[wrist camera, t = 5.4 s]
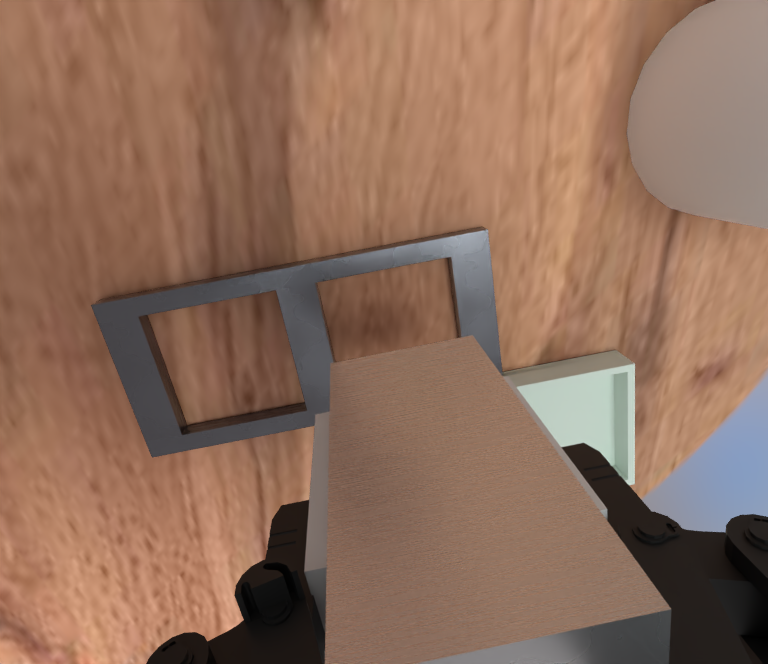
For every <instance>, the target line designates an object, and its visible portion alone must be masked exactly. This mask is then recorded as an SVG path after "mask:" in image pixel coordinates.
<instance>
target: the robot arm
mask: <svg viewBox="0 0 768 664" xmlns="http://www.w3.org/2000/svg"><path fill="white" fill-rule="evenodd" d="M503 378H504V379H505V381H506V382H507V383H508V385H509V386H510V387H511V389H512V390H513V392H514V393H515V394H516V396H517V397H518V398H519V400H520V401H521V403H522V404H523V405H524V407H525V408H526V409H527V411H528V412H529V414H530V415H531V416H532V418H533V419H534V421H535V422H536V423H537V425H538V426H539V427H540V429H541V430H542V432H543V433H544V434H545V436H546V437H547V438H548V440H549V441H550V443H551V444H552V445H553V447H554V448H555V449H556V451H557V452H558V454H559V455H560V456H561V458H562V459H563V460H564V462H565V463H566V465H567V466H568V467H569V469H570V470H571V472H572V473H573V474H574V476H575V477H576V478H577V480H578V481H579V483H580V484H581V485H582V487H583V488H584V489H585V491H586V492H587V494H588V495H589V496H590V498H591V499H592V500H593V502H594V503H595V505H596V506H597V507H598V509H599V510H600V511H601V513H602V514H603V516H604V517H605V518H606V520H607V521H608V522H609V524H610V525H611V527H612V528H613V529H614V531H615V532H616V534H617V535H618V536H619V538H620V539H621V540H622V542H623V543H624V545H625V546H626V547H627V549H628V550H629V551H630V553H631V554H632V556H633V557H634V558H635V560H636V561H637V562H638V564H639V565H640V567H641V568H642V569H643V571H644V572H645V573H646V575H647V576H648V578H649V579H650V580H651V582H652V583H653V584H654V586H655V587H656V589H657V590H658V591H659V593H660V594H661V596H662V597H663V598H664V600H665V601H666V602H667V604H668V605H669V607H670V608H671V628H670V649H669V664H768V517H766V516H760V515H754V514H751V515H740V516H737V517H734V518H732V519H731V520H730V521H729V522H728V524H727V525H726V533H724V532H702V531H691V530H685V529H682V528H681V527H680V526H679V524H678V523H677V522H675V521H674V520H672V519H670V518H669V517H667V516H665V515H662V514H659V513H656V512H651V511H650V509H649V508H648V507H647V506H646V505H645V504H644V502H643V501H642V500H641V499H640V498H639V497H638V495H637V494H636V493H635V492H634V491H633V490H632V488H631V487H630V486H629V485H628V484H627V483H626V481H625V480H624V479H623V478H622V477H621V476H619V473H618V472H617V471H616V470H615V469H614V468H613V466H611V465H610V463H609V462H608V461H607V459H606V458H605V457H604V456H603V455H602V454H601V452H600V451H598V450H596V449H594V448H592V447H591V446H589V445H587V444H585V443H580V444H575V445H570V446H565V447H561V446H560V445H559V444H558V442H557V441H556V440H555V438H554V437H553V436H552V434H551V433H550V432H549V430H548V429H547V428H546V426H545V425H544V424H543V422H542V421H541V419H540V418H539V417H538V415H537V414H536V413H535V411H534V410H533V409H532V407H531V406H530V405H529V403H528V402H527V401H526V399H525V398H524V397H523V395H522V394H521V393H520V391H519V390H518V389H517V387H516V386H515V385H514V383H513V382H512V381H511V379H510V378H509V377H508V376H505V377H503ZM329 415H330V412H325V413H320V414H315V428H314V442H313V456H312V470H311V484H310V498H309V500H306V501H301V502H296V503H292V504H287V505H282V506H281V507H280V509H279V510H278V512H277V513H276V515H275V516H274V518H273V519H272V523H271V529H270V538H269V541H268V550H267V553H266V559H265V560H263V561H261V562H259V563H257V564H255V565H253V566H252V567H250V568H249V569H248V570H247V571H246V572H245V573H244V574H243V575H242V576H241V578H240V580H239V581H238V583H237V585H236V590H235V598H236V600H237V603H238V606H239V608H240V611H241V614H242V616H243V619H244V620H243V621H242V622H241V623H240V624H239V625H237V626H236V627H234V628H233V629H231V630H229V631H227V632H225V633H223V634H221V635H219V636H217V637H216V638H214V639H212V640H210V641H208V642H207V640H206V639H205V637H204V636H202V635H200V634H198V633H196V632H192V633H183V634H180V635H177V636H175V637H172V638H171V639H169V640H168V641H166V642H165V643H164V644H162V645H161V646H159V648H158V649H157V650H156V651H155V652H154V653H153V654H152V655H151V656H150V658H149V659H148V661H147V663H146V664H325V629H326V575H327V522H328V468H329Z"/></svg>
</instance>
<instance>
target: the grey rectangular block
mask: <svg viewBox="0 0 768 664" xmlns="http://www.w3.org/2000/svg"><path fill="white" fill-rule="evenodd" d="M670 628H671V608H670V607H669V605H668V604H667V602H666V601H665V600H664V598H663V597H662V596H661V594H660V593H659V591H658V590H657V589H656V587H655V586H654V584H653V583H652V582H651V580H650V579H649V578H648V576H647V575H646V573H645V572H644V571H643V569H642V568H641V567H640V565H639V564H638V562H637V561H636V560H635V558H634V557H633V556H632V554H631V553H630V551H629V550H628V549H627V547H626V546H625V545H624V543H623V542H622V540H621V539H620V538H619V536H618V535H617V534H616V532H615V531H614V529H613V528H612V527H611V525H610V524H609V522H608V521H607V520H606V518H605V517H604V516H603V514H602V513H601V511H600V510H599V509H598V507H597V506H596V505H595V503H594V502H593V500H592V499H591V498H590V496H589V495H588V494H587V492H586V491H585V489H584V488H583V487H582V485H581V484H580V483H579V481H578V480H577V478H576V477H575V476H574V474H573V473H572V472H571V470H570V469H569V467H568V466H567V465H566V463H565V462H564V460H563V459H562V458H561V456H560V455H559V454H558V452H557V451H556V449H555V448H554V447H553V445H552V444H551V443H550V441H549V440H548V438H547V437H546V436H545V434H544V433H543V432H542V430H541V429H540V427H539V426H538V425H537V423H536V422H535V421H534V419H533V418H532V416H531V415H530V414H529V412H528V411H527V409H526V408H525V407H524V405H523V404H522V403H521V401H520V400H519V398H518V397H517V396H516V394H515V393H514V392H513V390H512V389H511V387H510V386H509V385H508V383H507V382H506V381H505V379H504V378H503V376H502V375H501V374H500V372H499V371H498V370H497V368H496V367H495V365H494V364H493V363H492V361H491V360H490V359H489V357H488V356H487V354H486V353H485V352H484V350H483V349H482V347H481V346H480V345H479V343H478V342H477V341H476V339H475V338H474V336H473V335H471V336H466V337H461V338H456V339H451V340H446V341H441V342H436V343H430V344H425V345H420V346H415V347H410V348H405V349H400V350H395V351H390V352H385V353H380V354H375V355H370V356H365V357H360V358H355V359H350V360H345V361H340V362H334V363H330V415H329V468H328V522H327V575H326V629H325V664H669V649H670Z"/></svg>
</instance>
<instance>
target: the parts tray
mask: <svg viewBox="0 0 768 664" xmlns="http://www.w3.org/2000/svg"><path fill="white" fill-rule="evenodd" d="M502 375H503V377H505V376H508V377H509V378H510V379H511V381H512V382H513V383H514V385H515V386H516V387H517V389H518V390H519V391H520V393H521V394H522V395H523V397H524V398H525V399H526V401H527V402H528V403H529V405H530V406H531V407H532V409H533V410H534V411H535V413H536V414H537V415H538V417H539V418H540V419H541V421H542V422H543V424H544V425H545V426H546V428H547V429H548V430H549V432H550V433H551V434H552V436H553V437H554V438H555V440H556V441H557V442H558V444H559V445H560V446H561V447H565V446H570V445H575V444H580V443H585V444H587V445H589V446H591V447H592V448H594V449H596V450H598V451H600V452H601V454H602V455H603V456H604V457H605V458H606V459H607V461H608V462H609V463H610V465H611V466H613V468H614V469H615V470H616V471H617V472H618V473H619V476H621V477H622V478H623V479H624V480H625V481H626V483H627V484H628V485H632V484H635V363H633V362H632V361H630V360H629V359H628V358H626V357H625V356H624V355H622V354H621V353H619V352H618V351H617V350H613V351H608V352H603V353H598V354H593V355H588V356H582V357H577V358H572V359H567V360H562V361H557V362H552V363H547V364H542V365H536V366H531V367H526V368H521V369H516V370H511V371H506V372H502Z"/></svg>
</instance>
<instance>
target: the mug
mask: <svg viewBox="0 0 768 664" xmlns="http://www.w3.org/2000/svg"><path fill="white" fill-rule="evenodd" d="M627 139H628V144H629V149H630V155H631V160H632V165H633V167H634V169H635V171H636V173H637V174H638V176H639V178H640V179H641V181H642V183H643V185H644V186H645V188H646V190H647V191H648V192H649V193H650V194H652V195H653V196H654V197H655V198H657V199H658V200H659V201H661V202H662V203H663V204H664V205H666V206H667V207H668V208H671V209H674V210H678V211H681V212H685V213H688V214H691V215H695V216H700V217H706V218H711V219H716V220H722V221H727V222H732V223H738V224H743V225H749V226H754V227H759V228H765V229H768V0H715V1H712V2H710V3H708V4H705V5H703V6H700V7H698V8H696V9H695V10H693V11H692V12H691V13H690V14H689V15H687V16H686V17H685V18H684V19H682V20H681V21H680V22H679V23H678V24H676V25H675V26H674V27H673V28H671V29H670V30H669V31H668V32H667V33H666V34H665V35H664V37H663V38H662V40H661V41H660V42H659V44H658V45H657V47H656V48H655V49H654V51H653V52H652V54H651V55H650V56H649V58H648V59H647V61H646V62H645V63H644V65H643V68H642V71H641V73H640V76H639V78H638V81H637V84H636V86H635V89H634V91H633V94H632V97H631V99H630V108H629V117H628V127H627Z"/></svg>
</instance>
